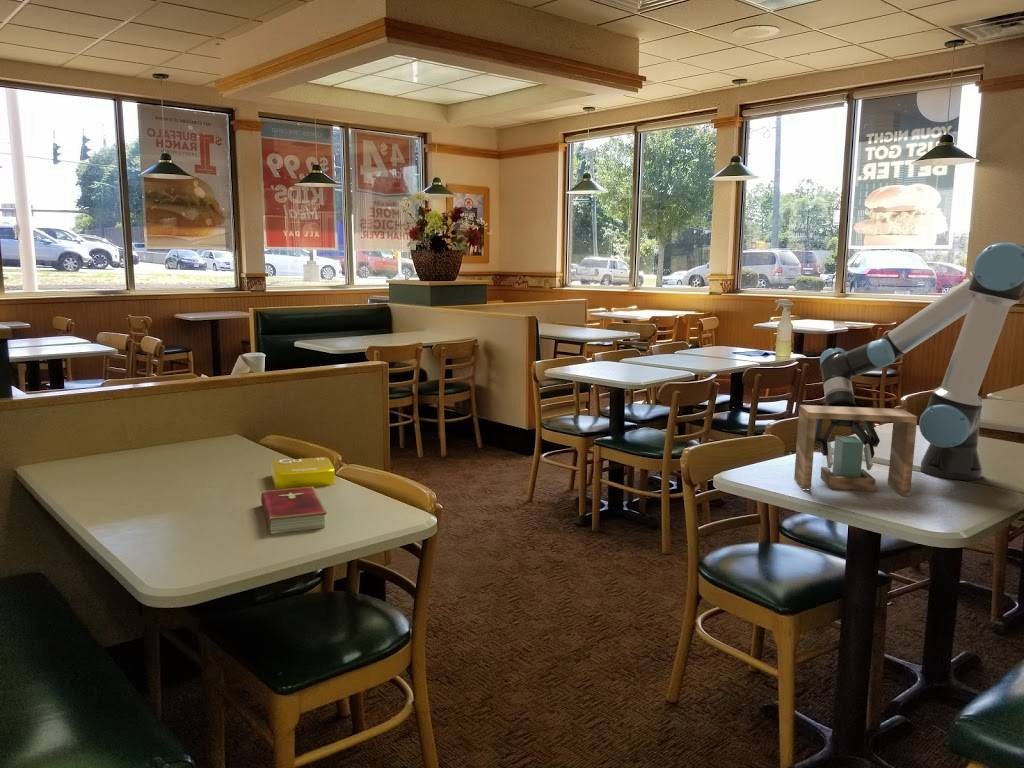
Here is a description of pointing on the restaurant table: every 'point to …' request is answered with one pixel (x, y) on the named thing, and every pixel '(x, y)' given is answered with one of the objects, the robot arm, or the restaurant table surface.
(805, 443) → the wooden arch
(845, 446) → the green rectangular block
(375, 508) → the restaurant table surface
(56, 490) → the restaurant table surface
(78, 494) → the restaurant table surface
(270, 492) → the hardcover book
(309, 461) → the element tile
